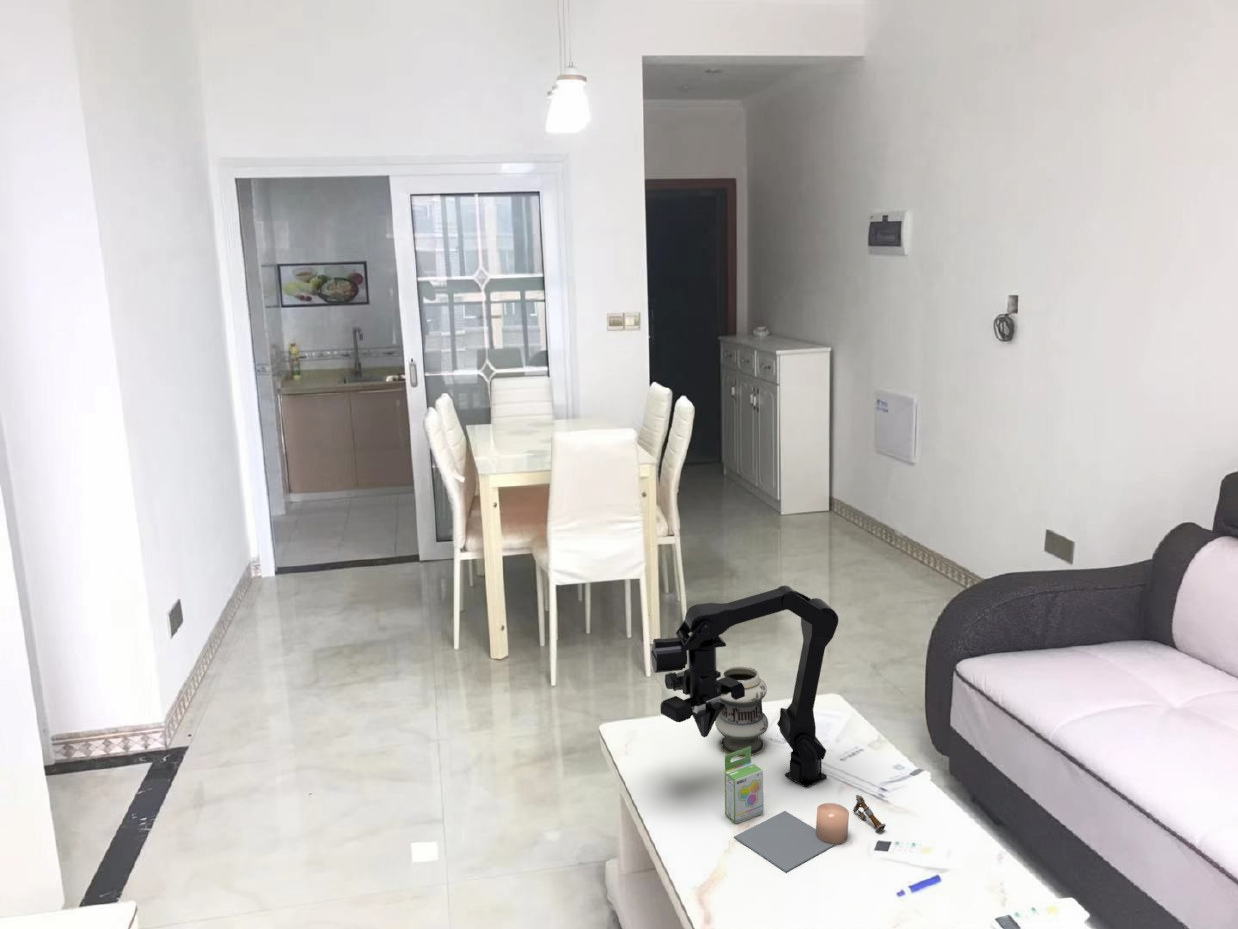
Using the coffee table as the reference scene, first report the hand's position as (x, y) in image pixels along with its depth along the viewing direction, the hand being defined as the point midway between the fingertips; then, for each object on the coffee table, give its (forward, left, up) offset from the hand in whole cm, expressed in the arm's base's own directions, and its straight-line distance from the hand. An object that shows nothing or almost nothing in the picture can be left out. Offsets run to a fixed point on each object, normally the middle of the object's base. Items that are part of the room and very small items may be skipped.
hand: (704, 736), depth 203 cm
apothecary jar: (-19, -9, -13) cm, 24 cm away
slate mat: (0, +23, -12) cm, 27 cm away
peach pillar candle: (-8, +28, -12) cm, 32 cm away
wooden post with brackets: (-17, +29, -13) cm, 36 cm away
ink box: (0, +12, -13) cm, 17 cm away
